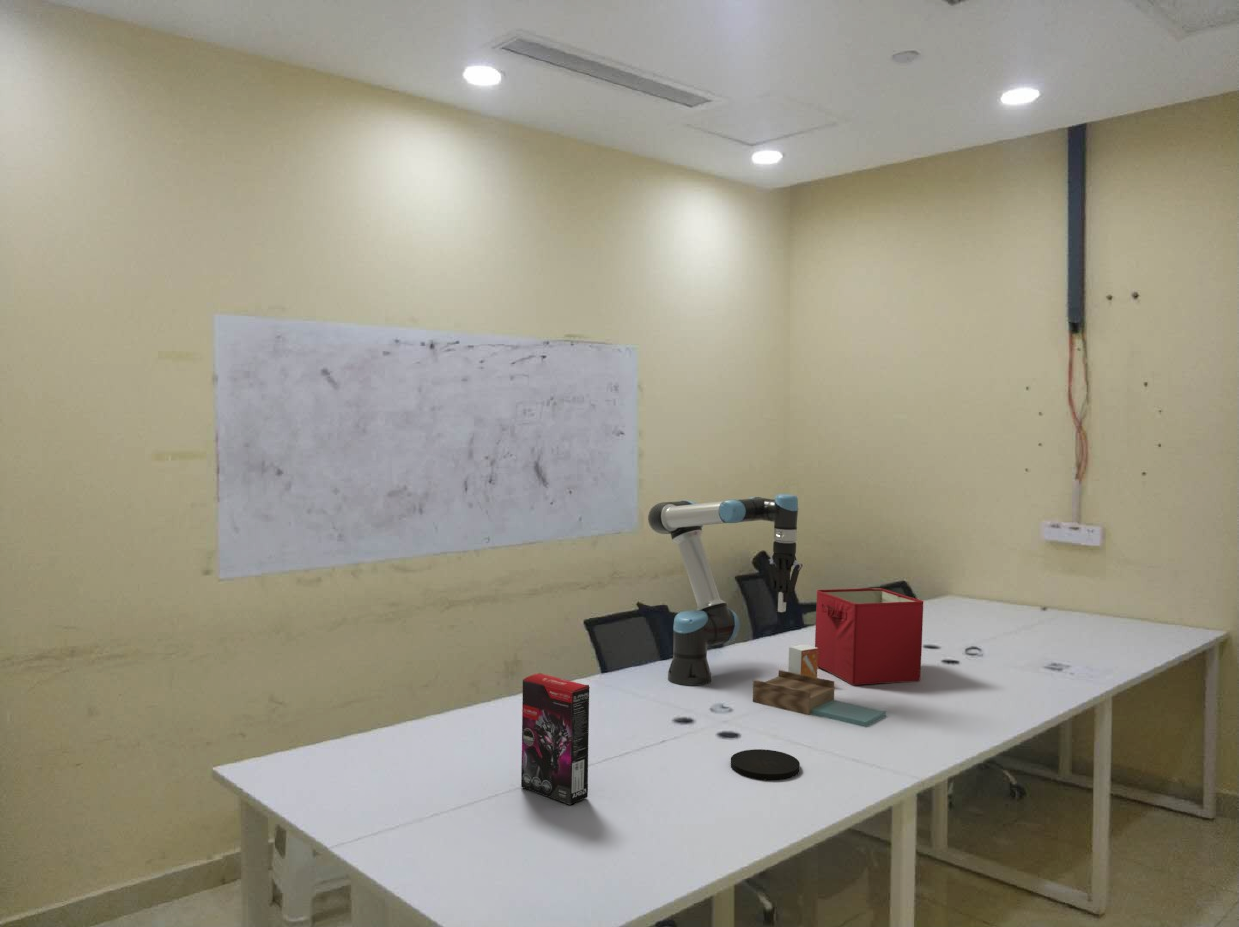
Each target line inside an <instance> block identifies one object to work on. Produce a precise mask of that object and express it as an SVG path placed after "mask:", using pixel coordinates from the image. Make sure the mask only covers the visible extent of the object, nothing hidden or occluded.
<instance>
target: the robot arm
mask: <svg viewBox="0 0 1239 927" xmlns="http://www.w3.org/2000/svg"><path fill="white" fill-rule="evenodd" d="M798 513H799V498H798V496H797V495H794V494H782V493H781V494H776V495H775V499H772V498H766V497H765V498H764V497H760V496H750V497H749V498H744V499H728V500H722V501H721V500H720V501H712V502H704V503H702V502H701V503H696V502H694V501H691V500H678V501H667V502H666V501H665V502H664V501H663V502H660V503H659V502H658V503H656V504H654V506H652V507H651V508H650V510H649V512H648V515H647V516H648V517H647V519H648V524H649V527H650V528H651V529H652V530H653V531H654V532H656V533H658V534H661V535H670V537H671V540H672V542H673V543H675V544H677V546H678V549H679V551H680V555H681V559H682V561H683V565H684V569H685V571H686V573H687V576H688V579H689V580H688V581H689V583H690V586H691V590H692V594H693V595H694V598H695V601H696V605H697V607H696V609H692V610H684V611H681V612H679V613H677V614H676V615H675V616H674V620H673V627H672V628H673V629H672V630H673V640H672V641H673V643H672V644H673V645H672V646H673V649H672V650H673V653H672V654H673V656H672V660H671V663H670V666H669V669H668V671H667V680H668V681H669V682H671V683H673V684H678V685H682V686H683V685H684V686H700V685H701V686H702V685H706V684H709V683H711V681H712V672H711V669H710V666H709V661H708V657H707V656H708V655H707V654H708V653H707V651H708V648H709V647H713V646H717V645H724V644H727V643H729V642H732V641H733V640H734V639H735V638H736V637H737V635H738V633H739V631H740V621H739V617H738V615H737V613H736V612H735V611H733V609H731V608H728V605H727V602H726V601H725V600H723V599H722V598H721V597H720V594H719V590H718V588H717V585H716V582H715V578H714V576H713V573H712V572H713V571H712V568H711V567H710V563H709V559H708V557H707V553H706V550H705V547H704V545H703V541H702V538H701V536H702V534H703V533H704V532H703V531H704V530H703V527H704V526H710V525H711V526H713V525H722V524H723V525H724V524H737V523H744V522H745V523H746V522H757V521H766V522H773V540H774V541H773V545H772V546H773V548H772V551H773V554H772V556H771V558H769V559H766V560H765V564H766V566H767V569H768V576H769V582H770V587H771V589H772V590H775V592H776V596H775V597H776V598H775V600H776V602H777V612H778V613H784V612H786V610H787V603H788V602H789V598H790V596H789V593H790V592H794V591H795V589H796V585H797V582H798V579H799V574H800V570H801V569H802V568H803V564H802V563H799V562H798V561H797V557H796V554H797V543H796V541H797V537H798V536H797V535H798V534H797V533H798ZM792 568H793V569H792ZM791 572H792V573H791Z"/></svg>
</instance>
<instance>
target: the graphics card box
mask: <svg viewBox="0 0 1239 927" xmlns="http://www.w3.org/2000/svg"><path fill="white" fill-rule="evenodd" d="M521 700H522V703H521V704H522V706H521V707H522V708H521V710H522V711H521V713H522V714H521V717H522V718H521V720H522V721H521V724H522V725H521V727H522V728H521V777H520V778H521V779H520V781H521V782H520V783H521V784H520V787H521V788H523V789H526V790H529V791H531V792H534V793H538V794H541V795H542V796H546V797H549V798H551V799H554V800H556V801H560V802H562V803H564V804H568V805H573V804H575V803H578V802H580V801H582V800H584V799H587V798H588V797H589V794H588V793H589V784H588V783H589V736H590V734H589V730H590V729H589V726H590V725H589V724H590V723H589V722H590V685H589V684H585V683H583V684H582V683H581V682H580V683H578V682H575V681H572V680H567V679H564V678H560V677H556V676H552V675H548V674H544V673H535V674H532V675H528V676H526V677H525V678H523V679H522V698H521Z"/></svg>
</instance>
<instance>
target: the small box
mask: <svg viewBox="0 0 1239 927" xmlns="http://www.w3.org/2000/svg"><path fill="white" fill-rule="evenodd" d="M817 664H818V648H816V647H815V646H813V645H810V644H806V643H804V644H800V645H799V644H798V645H794V646H789V647H788V665H787V666H788V669H787V672H792V673H797V674H801V675H806V676H811V677H816V678H818V667H817Z"/></svg>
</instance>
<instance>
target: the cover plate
mask: <svg viewBox="0 0 1239 927" xmlns="http://www.w3.org/2000/svg"><path fill="white" fill-rule="evenodd" d="M810 715H814V716H818V717H821V718H822V717H823V718H827V719H829V720H830V719H831V720H835V721H839V722H843V723H847V724H851V725H856V726H859V727H863V728H866V727H868V726H870V725H872V724H874V723H876V722H878V721H879V720H881V719H883V718H885V717H886V715H887V711H884V710H880V709H878V708H877V709H876V708H872V707H866V706H862V705H859V704H853V703H851V702H849V703H848V702H845V701H841V700H836V699H834V700H831V701H829V702H827V703H824V704H822V705H820V706H818V707H816V708H813V709H811V714H810Z"/></svg>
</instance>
